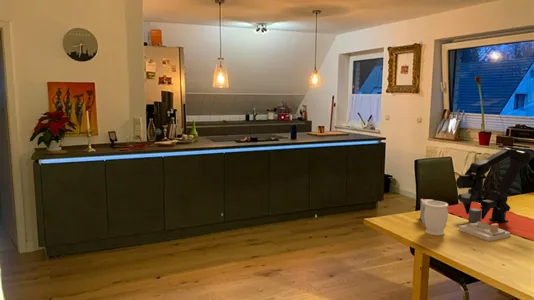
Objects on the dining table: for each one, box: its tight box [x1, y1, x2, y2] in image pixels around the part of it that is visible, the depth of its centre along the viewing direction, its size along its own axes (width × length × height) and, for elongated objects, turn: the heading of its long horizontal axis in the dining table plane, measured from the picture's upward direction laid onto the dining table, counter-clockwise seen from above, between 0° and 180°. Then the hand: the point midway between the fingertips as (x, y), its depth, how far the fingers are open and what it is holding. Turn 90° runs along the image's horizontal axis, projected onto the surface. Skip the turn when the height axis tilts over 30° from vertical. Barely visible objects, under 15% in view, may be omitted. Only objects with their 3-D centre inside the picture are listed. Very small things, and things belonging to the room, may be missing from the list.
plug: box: [468, 208, 482, 224], centre depth 214 cm, size 4×4×7 cm
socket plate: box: [458, 221, 511, 242], centre depth 199 cm, size 14×17×3 cm
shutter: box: [483, 222, 506, 235], centre depth 194 cm, size 6×6×4 cm
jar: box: [424, 200, 449, 237], centre depth 199 cm, size 11×10×15 cm
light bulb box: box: [419, 198, 435, 225], centre depth 217 cm, size 11×7×11 cm, turn 169°
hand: (474, 216), depth 214 cm, fingers open, 9 cm apart
